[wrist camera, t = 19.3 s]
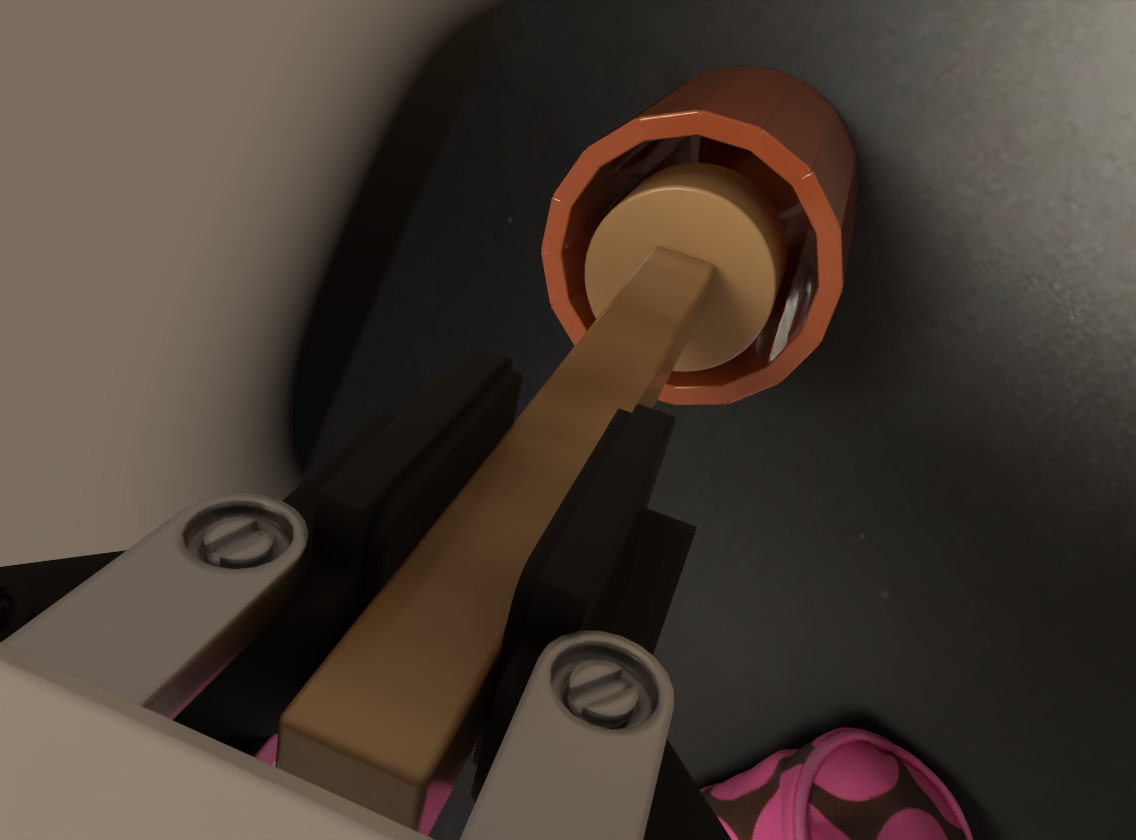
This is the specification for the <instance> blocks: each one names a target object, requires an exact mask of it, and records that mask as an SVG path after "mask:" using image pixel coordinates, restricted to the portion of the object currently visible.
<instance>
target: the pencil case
mask: <svg viewBox="0 0 1136 840" xmlns="http://www.w3.org/2000/svg"><path fill="white" fill-rule="evenodd" d="M700 791H701V793H702V794H703V796H704V797H705V799H706V800H707V802H708V803H709V805H710V807H711V808H712V810H713V811H714V813H715V814H716V816H717V817H718V819H719V820H720V822H721V824H722V825H723V827H724V828H725V830H726V831H727V833H728V834H729V836H730V838H731V839H732V840H973V837H972V833H971V831H970V828H969V825H968V823H967V821H966V819H965V816H964V814H963V812H962V810H961V808H960V806H959V804H958V803H957V801H956V799H955V798H954V796H953V795H952V793H951V792H950V791H949V790H948V788H947V787H946V786H945V785H944V783H943V782H942V781H941V780H940V779H939V778H938V777H937V776H936V775H935V774H934V772H932V771H931V770H930V769H929V768H928V767H927V766H926V765H924V764H923V763H922V762H921V761H920V760H919V759H918V758H916V757H915V756H914V755H912V754H911V753H909V752H907V751H905V750H904V749H902V748H900V747H899V746H897V745H895V744H893V743H892V742H891V741H890V740H888V739H887V738H885V737H882V736H880V735H878V734H875V733H871V732H869V731H866V730H863V729H856V728H837V729H834V730H832V731H829V732H827V733H825V734H823V735H821V736H819V737H817V738H816V739H815V740H814V741H812V742H810V743H808V744H806V745H804V746H803V747H801V748H799V749H792V750H780V751H778V752H776V753H774V754H772V755H770V756H769V757H767V758H766V759H764V760H763V761H761V762H760V763H758V764H757V765H756V766H754V767H753V768H752V769H749V770H747V771H745V772H742V773H740V774H738V775H736V776H734V777H732V778H730V779H728V780H726V781H725V782H722V783H717V784H714V785H711V786H707V787H704V788H702V789H700Z"/></svg>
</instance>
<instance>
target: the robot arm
mask: <svg viewBox="0 0 1136 840" xmlns="http://www.w3.org/2000/svg"><path fill="white" fill-rule="evenodd" d="M521 384H522V374H521V373H519V372H516V371H513V370H512V360H511V359H510V358H507V357H505V356H502V355H499V354H496V353H493V352H490V351H488V350H485V349H482V348H479V347H476V346H471V347H470V348H469V349H468V350H466V351H465V352H464V353H463V354H462V355H461V356H460V357H459V358H458V359H457V360H456V361H455V362H454V363H453V364H452V365H451V366H450V367H449V368H448V369H446V370H445V371H444V372H443V373H442V374H441V375H440V376H439V377H438V378H437V379H436V380H435V381H434V382H433V383H432V384H431V385H430V386H429V387H428V388H426V389H425V390H424V391H423V392H422V393H421V394H420V395H419V396H418V397H417V398H416V399H415V400H414V401H413V402H412V403H411V404H410V405H409V406H407V407H406V408H405V409H404V410H403V411H402V412H401V413H400V414H399V415H395V414H392V413H390V412H382V413H380V414H379V415H377V416H376V417H374V418H373V419H372V420H371V421H370V422H369V423H368V424H367V425H366V426H364V427H363V428H362V429H361V430H360V431H359V432H358V433H357V434H356V435H355V436H353V437H352V438H351V439H350V440H349V441H348V442H347V443H346V444H345V445H344V446H343V447H341V448H340V449H339V450H338V451H337V452H336V453H335V454H334V455H333V456H332V457H330V458H329V459H328V460H327V461H326V462H325V463H324V464H323V465H322V466H321V467H319V468H318V469H317V470H316V471H315V472H314V473H313V474H312V475H311V476H310V477H308V478H307V479H306V480H305V481H304V482H303V483H302V484H301V485H300V486H299V487H297V488H296V489H295V490H294V491H293V492H292V493H291V494H290V495H289V496H288V497H287V498H285V499H284V500H283V501H281V500H279V499H275V498H272V497H268V496H266V495H262V494H254V493H244V492H239V493H228V494H227V493H226V494H219V495H215V496H211V497H208V498H204V499H201V500H199V501H197V502H195V503H193V504H192V505H190V506H188V507H186V508H184V509H183V510H182V511H180V512H179V513H177V514H176V515H175V516H174V517H172V518H171V519H169V520H168V521H166V522H165V523H164V524H162V525H161V526H160V527H158V528H157V529H156V530H154V531H153V532H151V533H150V534H149V535H147V536H146V537H145V538H143V539H142V540H141V541H139V542H138V543H137V544H135V545H134V546H132V547H131V548H130V549H128V550H126V551H118V552H110V553H103V554H95V555H87V556H80V557H73V558H65V559H57V560H49V561H42V562H35V563H27V564H19V565H11V566H4V567H0V840H434V839H432V838H430V837H428V836H425V835H423V834H421V833H419V832H417V831H414V830H412V829H410V828H408V827H406V826H404V825H401V824H399V823H397V822H395V821H393V820H391V819H388V818H386V817H384V816H382V815H380V814H378V813H375V812H373V811H371V810H369V809H367V808H364V807H362V806H360V805H358V804H356V803H354V802H351V801H349V800H347V799H345V798H343V797H340V796H338V795H336V794H334V793H331V792H329V791H327V790H325V789H323V788H320V787H318V786H316V785H314V784H312V783H309V782H307V781H305V780H303V779H301V778H298V777H296V776H294V775H292V774H290V773H287V772H285V771H283V770H281V769H279V768H276V767H274V766H272V764H273V763H274V762H275V761H276V751H277V737H278V723H279V719H280V715H281V714H282V713H283V712H284V710H285V709H286V708H287V707H288V705H289V704H290V703H291V702H292V700H293V699H294V698H295V697H296V695H297V694H298V693H299V692H300V690H301V689H302V688H303V687H304V685H305V684H306V683H307V682H308V680H309V679H310V678H311V677H312V675H313V674H314V673H315V672H316V670H317V669H318V668H319V667H320V665H321V664H322V663H323V661H324V660H325V659H326V658H327V656H328V655H329V654H330V653H331V651H332V650H333V649H334V648H335V646H336V645H337V644H338V643H339V641H340V640H341V639H342V638H343V636H344V635H345V634H346V633H347V631H348V630H349V629H350V628H351V626H352V625H353V624H354V623H355V621H356V620H357V619H358V618H359V616H360V615H361V614H362V613H363V611H364V610H365V609H366V608H367V606H368V605H369V604H370V603H371V601H372V600H373V599H374V598H375V596H376V595H377V594H378V593H379V592H380V590H381V589H382V588H383V587H384V585H385V584H386V583H387V581H388V580H389V579H390V578H391V576H392V575H393V574H394V573H395V571H396V570H397V569H398V568H399V566H400V565H401V564H402V563H403V561H404V560H405V559H406V558H407V556H408V555H409V554H410V553H411V551H412V550H413V549H414V548H415V546H416V545H417V544H418V543H419V541H420V540H421V539H422V538H423V536H424V535H425V534H426V533H427V531H428V530H429V529H430V528H431V526H432V525H433V524H434V523H435V521H436V520H437V519H438V518H439V516H440V515H441V514H442V512H443V511H444V510H445V509H446V507H447V506H448V505H449V504H450V502H451V501H452V500H453V499H454V497H455V496H456V495H457V494H458V492H459V491H460V490H461V489H462V487H463V486H464V485H465V484H466V482H467V481H468V480H469V479H470V477H471V476H472V475H473V474H474V472H475V471H476V470H477V469H478V467H479V466H480V465H481V464H482V462H483V461H484V460H485V459H486V457H487V456H488V455H489V454H490V452H491V451H492V450H493V449H494V447H495V446H496V445H497V443H498V442H499V441H500V440H501V438H502V437H503V436H504V435H505V433H506V432H507V431H508V430H509V428H510V427H511V426H512V425H513V421H514V417H515V412H516V408H517V403H518V398H519V394H520V389H521ZM675 420H676V417H674V416H671V415H669V414H666V413H663V412H660V411H657V410H655V409H652V408H649V407H646V406H643V405H640V404H637V405H636V406H635V408H634V410H633V411H632V413H631V412H628V411H626V410H623V409H620V408H619V409H618V410H617V411H616V413H615V415H614V416H613V418H612V420H611V421H610V423H609V425H608V426H607V428H606V430H605V431H604V433H603V435H602V436H601V438H600V440H599V441H598V443H597V445H596V446H595V448H594V450H593V451H592V453H591V455H590V456H589V458H588V460H587V461H586V463H585V465H584V466H583V468H582V470H581V471H580V473H579V475H578V476H577V478H576V480H575V481H574V483H573V485H572V486H571V488H570V490H569V491H568V493H567V494H566V496H565V498H564V499H563V501H562V503H561V504H560V506H559V508H558V509H557V511H556V513H555V514H554V516H553V518H552V519H551V521H550V523H549V524H548V526H547V528H546V529H545V531H544V533H543V534H542V536H541V538H540V539H539V541H538V543H537V544H536V546H535V548H534V549H533V551H532V553H531V554H530V556H529V558H528V560H527V562H526V564H525V566H524V568H523V570H522V573H521V575H520V578H519V580H518V583H517V586H516V589H515V592H514V595H513V599H512V603H511V607H510V611H509V615H508V619H507V623H506V627H505V632H504V636H503V640H502V646H503V653H502V657H501V661H500V665H499V669H498V673H497V677H496V681H495V685H494V689H493V693H492V697H491V701H490V705H489V709H488V713H487V717H486V721H485V725H484V729H483V732H482V734H481V736H480V738H479V739H478V741H477V745H476V749H475V753H474V757H473V765H476V766H478V767H477V771H476V775H475V779H474V783H473V787H472V791H471V795H472V797H473V800H474V802H475V806H474V808H473V810H472V813H471V815H470V817H469V820H468V822H467V824H466V827H465V829H464V831H463V833H462V836H461V838H460V840H732V839H731V838H730V836H729V834H728V833H727V831H726V830H725V828H724V827H723V825H722V824H721V822H720V820H719V819H718V817H717V816H716V814H715V813H714V811H713V810H712V808H711V807H710V805H709V803H708V802H707V800H706V799H705V797H704V796H703V794H702V793H701V791H700V789H699V788H698V786H697V785H696V783H695V782H694V780H693V779H692V777H691V776H690V774H689V772H688V771H687V769H686V768H685V766H684V765H683V763H682V762H681V760H680V758H679V757H678V755H677V754H676V752H675V751H674V749H673V748H672V746H671V744H670V743H669V741H668V740H667V734H668V730H669V726H670V721H671V717H672V713H673V708H674V690H673V687H672V685H671V682H670V679H669V676H668V674H667V672H666V671H665V670H664V668H663V667H662V666H661V664H660V663H659V662H658V660H657V659H656V658H655V657H654V656H653V653H654V650H655V647H656V644H657V641H658V638H659V635H660V633H661V630H662V627H663V624H664V621H665V618H666V615H667V612H668V609H669V607H670V604H671V601H672V598H673V595H674V592H675V589H676V586H677V583H678V581H679V578H680V575H681V572H682V569H683V566H684V563H685V560H686V557H687V555H688V552H689V549H690V546H691V543H692V540H693V537H694V534H695V531H696V528H697V527H695V526H693V525H690V524H687V523H685V522H682V521H679V520H677V519H674V518H671V517H669V516H666V515H663V514H660V513H658V512H655V511H652V510H650V509H647V506H648V503H649V500H650V497H651V494H652V491H653V488H654V485H655V482H656V479H657V476H658V473H659V470H660V467H661V464H662V460H663V457H664V454H665V451H666V448H667V445H668V442H669V439H670V436H671V433H672V430H673V427H674V423H675Z"/></svg>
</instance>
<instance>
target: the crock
mask: <svg viewBox="0 0 1136 840" xmlns="http://www.w3.org/2000/svg"><path fill="white" fill-rule="evenodd" d="M685 163H709V164H714V165H719V166H723V167H726V168H728V169H731V170H734V171H736V172H738V173H739V174H741V175H743V176H745V177H746V178H748V179H749V180H751V181H752V182H753V183H755V184H756V185H757V186H758V187H759V188H760V189H761V190H762V191H763V192H764V193H765V194H766V196H767V197H768V198H769V199H770V201H771V202H772V203H773V205H774V207H775V208H776V210H777V212H778V214H779V216H780V219H781V221H782V224H783V227H784V231H785V235H786V242H787V261H786V268H785V272H784V276H783V279H782V282H781V285H780V288H779V291H778V294H777V297H776V300H775V303H774V306H773V308H772V311H771V314H770V316H769V319H768V321H767V323H766V325H765V327H764V328H763V330H762V331H761V333H760V335H759V336H758V337H757V338H756V339H755V341H754V342H753V343H752V344H751V345H750V346H749V347H748V348H747V349H746V350H744V351H743V352H742V353H741V354H739V355H738V356H736V357H735V358H733V359H731V360H729V361H727V362H725V363H723V364H721V365H718V366H715V367H713V368H709V369H704V370H700V371H689V372H683V371H672V372H671V374H670V376H669V378H668V380H667V382H666V383H665V385H664V387H663V389H662V391H661V393H660V395H659V397H658V399H657V400H660V401H663V402H666V403H669V404H674V405H707V404H728V403H733V402H735V401H738V400H740V399H743V398H745V397H748V396H750V395H753V394H755V393H758V392H760V391H763V390H765V389H767V388H770V387H772V386H775V385H777V384H779V382H782V381H783V380H784V379H785V378H786V377H787V376H788V375H789V374H790V373H791V372H793V371H794V370H795V369H796V368H797V367H798V366H799V365H800V364H801V363H802V362H803V361H804V360H805V359H806V358H807V357H808V356H809V355H810V354H811V353H812V352H813V351H814V350H815V349H816V348H817V347H818V346H819V345H820V343H821V342H822V340H823V338H824V335H825V333H826V331H827V328H828V326H829V323H830V321H831V318H832V316H833V313H834V311H835V308H836V306H837V303H838V301H839V299H840V296H841V294H842V291H843V286H844V280H845V274H846V268H847V261H848V255H849V249H850V243H851V237H852V231H853V225H854V219H855V213H856V207H857V201H858V199H857V179H858V173H857V163H856V155H855V151H854V148H853V144H852V142H851V139H850V136H849V134H848V131H847V129H846V127H845V126H844V124H843V122H842V120H841V118H840V117H839V115H838V114H837V113H836V111H835V110H834V109H833V107H832V106H831V105H830V103H829V102H828V101H826V100H825V99H824V98H823V97H822V96H821V95H820V94H819V93H818V92H817V91H816V90H814V89H813V88H812V87H810V86H809V85H807V84H806V83H804V82H803V81H801V80H799V79H797V78H795V77H793V76H791V75H788V74H786V73H783V72H780V71H777V70H773V69H769V68H764V67H755V66H736V67H727V68H722V69H718V70H713V71H710V72H705V73H703V74H700V75H698V76H696V77H695V78H693V79H691V80H690V81H688V82H686V83H685V84H683V85H681V86H680V87H678V88H677V89H675V90H673V91H672V92H670V93H668V94H667V95H665V96H663V97H662V98H660V99H659V100H657V101H656V102H654V103H653V104H651V105H650V106H648V107H647V108H645V109H644V110H642V111H641V112H639V113H638V114H636V115H635V116H633V117H632V118H630V119H629V120H627V121H626V122H624V123H623V124H621V125H620V126H618V127H617V128H615V129H614V130H612V131H611V132H609V133H608V134H606V135H605V136H603V137H602V138H600V139H599V140H597V141H596V142H594V143H593V144H591V145H590V146H588V148H587V149H586V150H584V151H583V153H582V154H581V156H580V157H579V158H578V160H577V161H576V163H575V164H574V166H573V167H572V168H571V170H570V171H569V173H568V174H567V176H566V177H565V178H564V180H563V181H562V183H561V184H560V186H559V187H558V188H557V190H556V191H555V193H554V196H553V197H552V200H551V205H550V210H549V214H548V219H547V224H546V229H545V233H544V238H543V243H542V248H541V249H542V252H541V254H542V259H543V265H544V271H545V276H546V282H547V288H548V293H549V299H550V303H551V304H552V305H551V307H552V309H553V310H554V312H555V314H556V315H557V317H558V319H559V320H560V322H561V324H562V325H563V327H564V329H565V330H566V332H567V334H568V335H569V337H570V339H571V340H572V342H573V344H574V345H576V344H577V343H578V342H579V340H580V339H581V338H582V337H583V335H584V334H585V333H586V332H587V330H588V329H589V328H590V327H591V325H592V324H593V323H594V322H595V320H596V317H595V316H594V314H593V312H592V309H591V306H590V303H589V300H588V297H587V292H586V287H585V261H586V255H587V251H588V248H589V245H590V241H591V239H592V237H593V235H594V233H595V231H596V229H597V228H598V226H599V225H600V223H601V222H602V220H603V219H604V218H605V217H606V216H607V214H608V213H609V212H610V211H611V210H612V209H613V208H614V207H615V206H616V205H617V204H619V203H620V202H621V201H622V200H623V199H624V198H625V197H626V196H627V195H628V194H629V193H630V192H631V191H632V190H633V189H634V188H636V187H637V186H638V185H639V184H640V183H641V182H642V181H644V180H645V179H646V178H648V177H650V176H651V175H653V174H654V173H656V172H658V171H661V170H663V169H665V168H668V167H671V166H674V165H679V164H685Z"/></svg>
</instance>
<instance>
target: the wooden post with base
mask: <svg viewBox="0 0 1136 840" xmlns="http://www.w3.org/2000/svg"><path fill="white" fill-rule="evenodd" d="M786 261H787V242H786V235H785V231H784V227H783V224H782V221H781V219H780V216H779V214H778V212H777V210H776V208H775V207H774V205H773V203H772V202H771V201H770V199H769V198H768V197H767V196H766V194H765V193H764V192H763V191H762V190H761V189H760V188H759V187H758V186H757V185H756V184H755V183H753V182H752V181H751V180H749V179H748V178H746V177H745V176H743V175H741V174H739V173H738V172H736V171H734V170H731V169H728V168H726V167H723V166H719V165H714V164H709V163H685V164H679V165H674V166H671V167H668V168H665V169H663V170H661V171H658V172H656V173H654V174H653V175H651V176H650V177H648V178H646V179H645V180H644V181H642V182H641V183H640V184H639V185H638V186H637V187H636V188H634V189H633V190H632V191H631V192H630V193H629V194H628V195H627V196H626V197H625V198H624V199H623V200H622V201H621V202H620V203H619V204H617V205H616V206H615V207H614V208H613V209H612V210H611V211H610V212H609V213H608V214H607V216H606V217H605V218H604V219H603V220H602V222H601V223H600V225H599V226H598V228H597V229H596V231H595V233H594V235H593V237H592V239H591V241H590V245H589V248H588V251H587V255H586V261H585V287H586V292H587V297H588V300H589V303H590V306H591V309H592V312H593V314H594V316H595V317H596V320H595V322H594V323H593V324H592V325H591V327H590V328H589V329H588V330H587V332H586V333H585V334H584V335H583V337H582V338H581V339H580V340H579V342H578V343H577V344H576V345H575V347H574V348H573V349H572V350H571V352H570V353H569V354H568V355H567V357H566V358H565V359H564V360H563V362H562V363H561V364H560V365H559V367H558V368H557V369H556V370H555V372H554V373H553V374H552V375H551V377H550V378H549V379H548V380H547V382H546V383H545V384H544V386H543V387H542V388H541V389H540V391H539V392H538V393H537V394H536V396H535V397H534V398H533V399H532V401H531V402H530V403H529V404H528V406H527V407H526V408H525V409H524V411H523V412H522V413H521V414H520V416H519V417H518V418H517V419H516V421H515V422H514V423H513V425H512V426H511V427H510V428H509V430H508V431H507V432H506V433H505V435H504V436H503V437H502V438H501V440H500V441H499V442H498V443H497V445H496V446H495V447H494V449H493V450H492V451H491V452H490V454H489V455H488V456H487V457H486V459H485V460H484V461H483V462H482V464H481V465H480V466H479V467H478V469H477V470H476V471H475V472H474V474H473V475H472V476H471V477H470V479H469V480H468V481H467V482H466V484H465V485H464V486H463V487H462V489H461V490H460V491H459V492H458V494H457V495H456V496H455V497H454V499H453V500H452V501H451V502H450V504H449V505H448V506H447V507H446V509H445V510H444V511H443V512H442V514H441V515H440V516H439V518H438V519H437V520H436V521H435V523H434V524H433V525H432V526H431V528H430V529H429V530H428V531H427V533H426V534H425V535H424V536H423V538H422V539H421V540H420V541H419V543H418V544H417V545H416V546H415V548H414V549H413V550H412V551H411V553H410V554H409V555H408V556H407V558H406V559H405V560H404V561H403V563H402V564H401V565H400V566H399V568H398V569H397V570H396V571H395V573H394V574H393V575H392V576H391V578H390V579H389V580H388V581H387V583H386V584H385V585H384V587H383V588H382V589H381V590H380V592H379V593H378V594H377V595H376V596H375V598H374V599H373V600H372V601H371V603H370V604H369V605H368V606H367V608H366V609H365V610H364V611H363V613H362V614H361V615H360V616H359V618H358V619H357V620H356V621H355V623H354V624H353V625H352V626H351V628H350V629H349V630H348V631H347V633H346V634H345V635H344V636H343V638H342V639H341V640H340V641H339V643H338V644H337V645H336V646H335V648H334V649H333V650H332V651H331V653H330V654H329V655H328V656H327V658H326V659H325V660H324V661H323V663H322V664H321V665H320V667H319V668H318V669H317V670H316V672H315V673H314V674H313V675H312V677H311V678H310V679H309V680H308V682H307V683H306V684H305V685H304V687H303V688H302V689H301V690H300V692H299V693H298V694H297V695H296V697H295V698H294V699H293V700H292V702H291V703H290V704H289V705H288V707H287V708H286V709H285V710H284V712H283V713H282V714H281V715H280V719H279V723H278V737H277V751H276V766H275V767H276V768H279V769H281V770H283V771H285V772H287V773H290V774H292V775H294V776H296V777H298V778H301V779H303V780H305V781H307V782H309V783H312V784H314V785H316V786H318V787H320V788H323V789H325V790H327V791H329V792H331V793H334V794H336V795H338V796H340V797H343V798H345V799H347V800H349V801H351V802H354V803H356V804H358V805H360V806H362V807H364V808H367V809H369V810H371V811H373V812H375V813H378V814H380V815H382V816H384V817H386V818H388V819H391V820H393V821H395V822H397V823H399V824H401V825H404V826H406V827H408V828H410V829H412V830H414V831H417V832H419V833H421V834H423V835H425V836H428V835H429V833H430V831H431V829H432V827H433V825H434V823H435V821H436V819H437V817H438V816H439V814H440V812H441V810H442V808H443V806H444V804H445V802H446V800H447V798H448V797H449V795H450V793H451V791H452V789H453V787H454V785H455V783H456V781H457V779H458V778H459V776H460V774H461V772H462V770H463V768H464V766H465V764H466V762H467V760H468V758H469V757H470V755H471V753H472V751H473V749H474V747H475V745H476V743H477V741H478V739H479V738H480V736H481V734H482V732H483V729H484V725H485V721H486V717H487V713H488V709H489V705H490V701H491V697H492V693H493V689H494V685H495V681H496V677H497V673H498V669H499V665H500V661H501V657H502V653H503V646H502V640H503V636H504V632H505V627H506V623H507V619H508V615H509V611H510V607H511V603H512V599H513V595H514V592H515V589H516V586H517V583H518V580H519V578H520V575H521V573H522V570H523V568H524V566H525V564H526V562H527V560H528V558H529V556H530V554H531V553H532V551H533V549H534V548H535V546H536V544H537V543H538V541H539V539H540V538H541V536H542V534H543V533H544V531H545V529H546V528H547V526H548V524H549V523H550V521H551V519H552V518H553V516H554V514H555V513H556V511H557V509H558V508H559V506H560V504H561V503H562V501H563V499H564V498H565V496H566V494H567V493H568V491H569V490H570V488H571V486H572V485H573V483H574V481H575V480H576V478H577V476H578V475H579V473H580V471H581V470H582V468H583V466H584V465H585V463H586V461H587V460H588V458H589V456H590V455H591V453H592V451H593V450H594V448H595V446H596V445H597V443H598V441H599V440H600V438H601V436H602V435H603V433H604V431H605V430H606V428H607V426H608V425H609V423H610V421H611V420H612V418H613V416H614V415H615V413H616V411H617V410H618V409H619V408H620V409H623V410H626V411H628V412H631V413H632V411H633V410H634V408H635V406H636V405H637V404H640V405H643V406H646V407H649V408H653V406H654V404H655V403H656V401H657V399H658V397H659V395H660V393H661V391H662V389H663V387H664V385H665V383H666V382H667V380H668V378H669V376H670V374H671V372H672V371H683V372H689V371H700V370H704V369H709V368H713V367H715V366H718V365H721V364H723V363H725V362H727V361H729V360H731V359H733V358H735V357H736V356H738V355H739V354H741V353H742V352H743V351H744V350H746V349H747V348H748V347H749V346H750V345H751V344H752V343H753V342H754V341H755V339H756V338H757V337H758V336H759V335H760V333H761V331H762V330H763V328H764V327H765V325H766V323H767V321H768V319H769V316H770V314H771V311H772V308H773V306H774V303H775V300H776V297H777V294H778V291H779V288H780V285H781V282H782V279H783V276H784V272H785V268H786Z"/></svg>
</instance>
